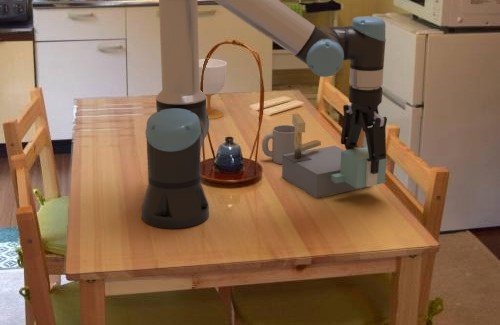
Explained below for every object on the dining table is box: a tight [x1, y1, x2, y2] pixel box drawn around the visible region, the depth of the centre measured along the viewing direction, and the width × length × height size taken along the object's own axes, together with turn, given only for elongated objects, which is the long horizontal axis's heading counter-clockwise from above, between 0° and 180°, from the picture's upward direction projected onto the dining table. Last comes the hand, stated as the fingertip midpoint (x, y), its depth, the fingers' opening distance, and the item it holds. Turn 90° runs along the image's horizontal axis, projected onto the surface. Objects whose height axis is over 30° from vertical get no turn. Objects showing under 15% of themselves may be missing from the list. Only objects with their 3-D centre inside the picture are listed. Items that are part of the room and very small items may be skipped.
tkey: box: [291, 113, 322, 158], centre depth 201 cm, size 10×8×10 cm
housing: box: [281, 145, 372, 199], centre depth 202 cm, size 16×16×6 cm
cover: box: [331, 146, 387, 190], centre depth 190 cm, size 10×7×7 cm, turn 117°
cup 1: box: [199, 58, 228, 120], centre depth 256 cm, size 12×12×17 cm
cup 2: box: [261, 124, 295, 165], centre depth 217 cm, size 7×10×9 cm
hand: (361, 180), depth 192 cm, fingers closed on cover, 7 cm apart
